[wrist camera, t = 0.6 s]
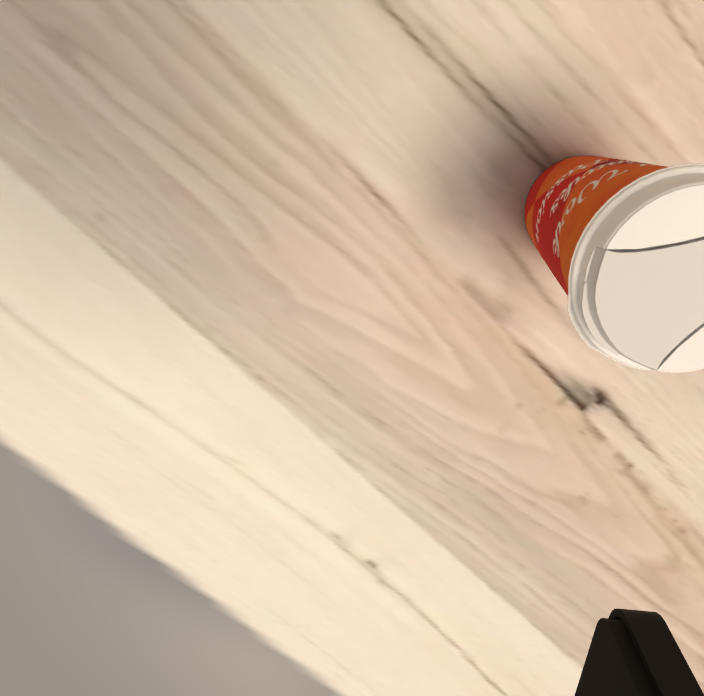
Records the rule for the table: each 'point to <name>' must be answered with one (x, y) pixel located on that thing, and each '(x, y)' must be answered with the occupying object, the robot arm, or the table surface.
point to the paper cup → (626, 256)
